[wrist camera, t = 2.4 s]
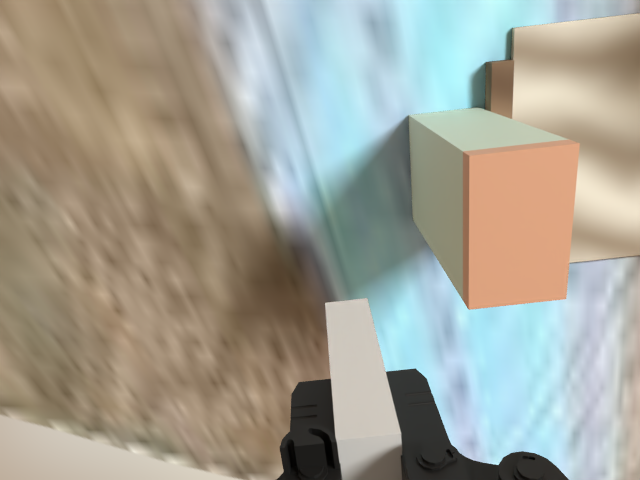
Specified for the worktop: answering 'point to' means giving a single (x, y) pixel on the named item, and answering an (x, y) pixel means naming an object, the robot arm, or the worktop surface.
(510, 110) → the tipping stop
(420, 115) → the sage block
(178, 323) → the worktop surface
